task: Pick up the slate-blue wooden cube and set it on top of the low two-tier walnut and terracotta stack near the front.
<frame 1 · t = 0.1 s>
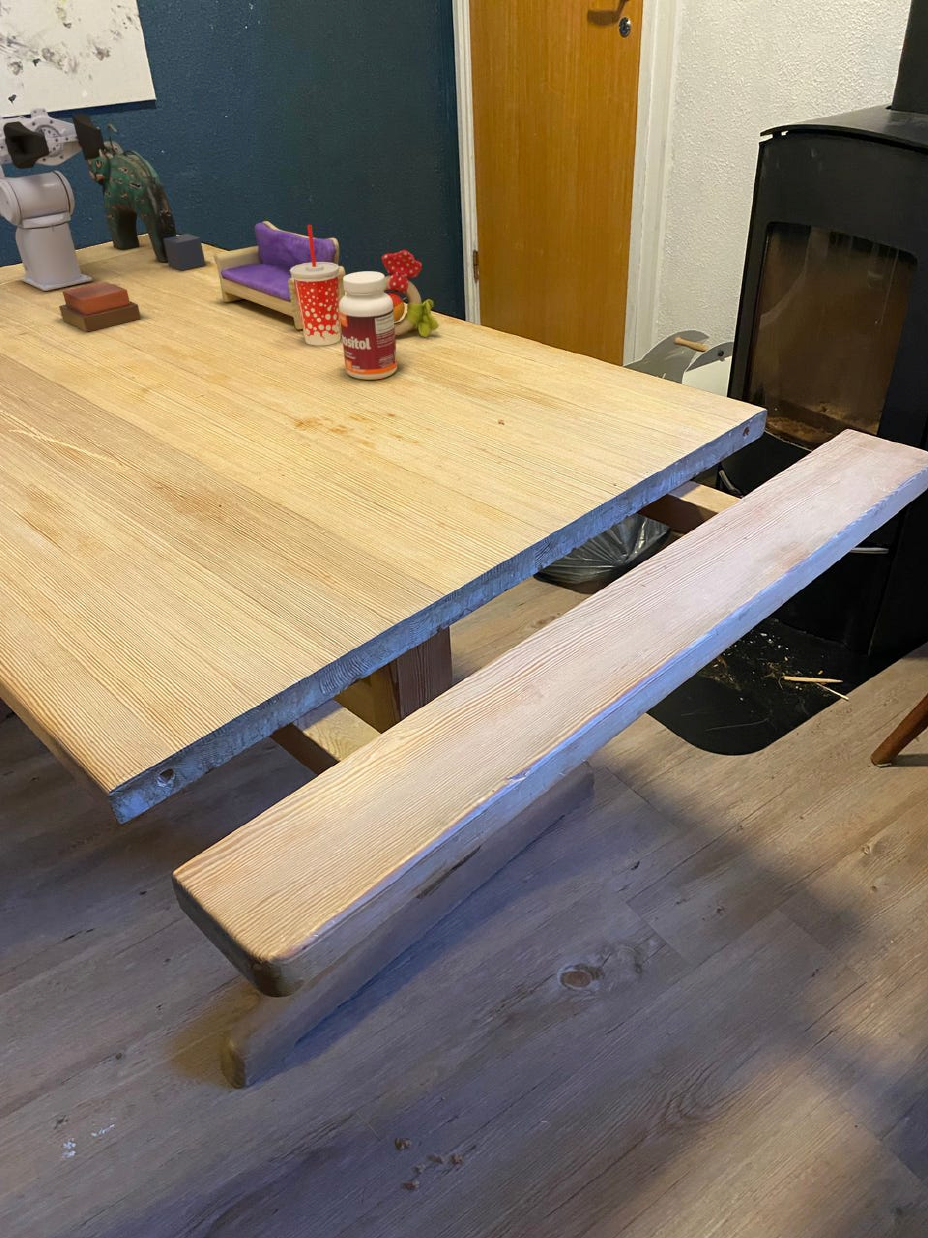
hand: (73, 141, 120), 22 cm above the table, tool horizontal, fingers open, 7 cm apart
stack: (101, 319, 128), on the table
toy sofa: (284, 311, 129), on the table
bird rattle: (404, 337, 118), on the table
beverage cup: (323, 341, 118), on the table
pill bottle: (372, 373, 108), on the table
green animal figurine: (147, 253, 159), on the table
cube: (187, 265, 151), on the table
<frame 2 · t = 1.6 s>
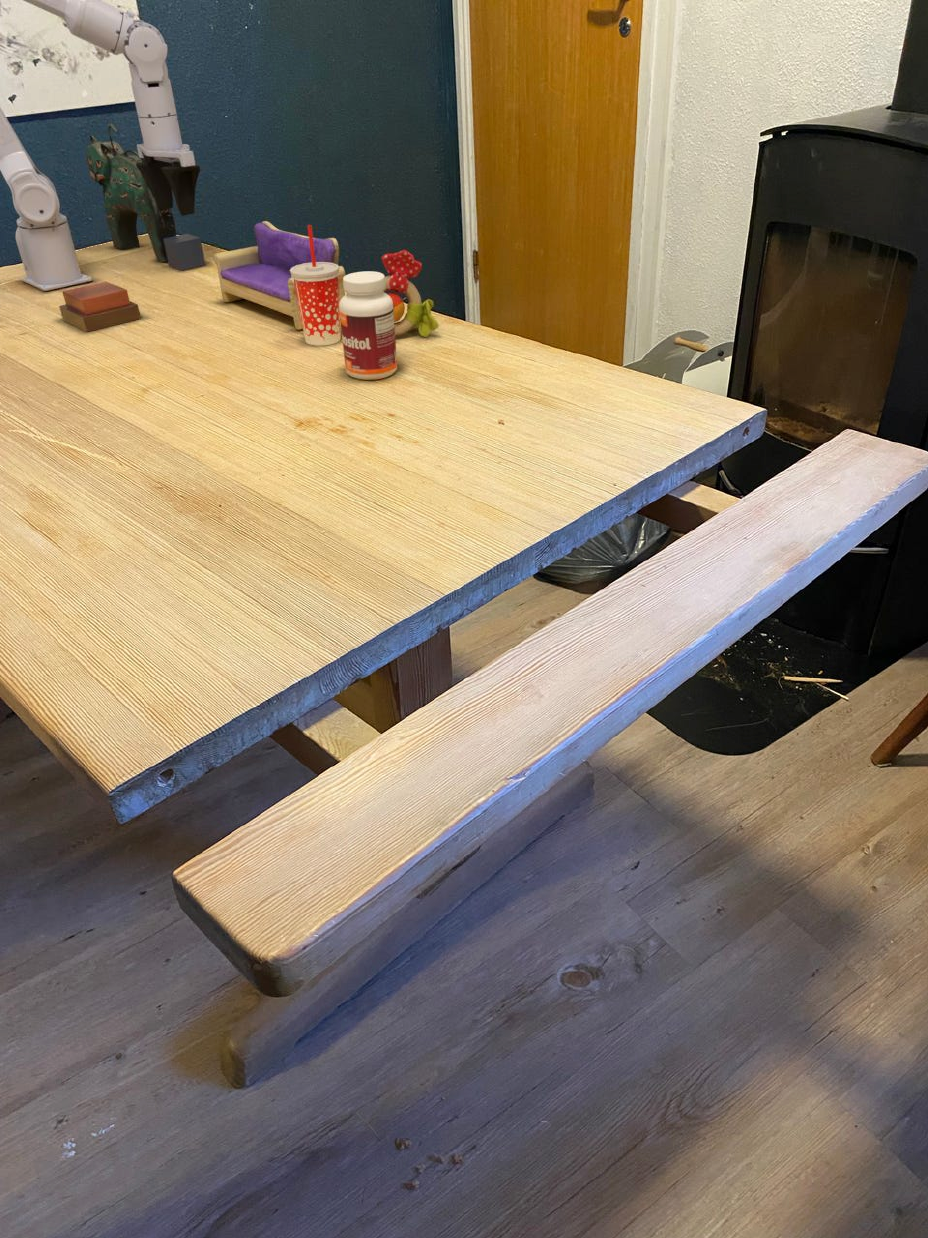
hand: (176, 211, 146), 8 cm above the table, tool pointing down, fingers open, 6 cm apart
green animal figurine: (147, 253, 159), on the table, touching gripper
everything else where it was.
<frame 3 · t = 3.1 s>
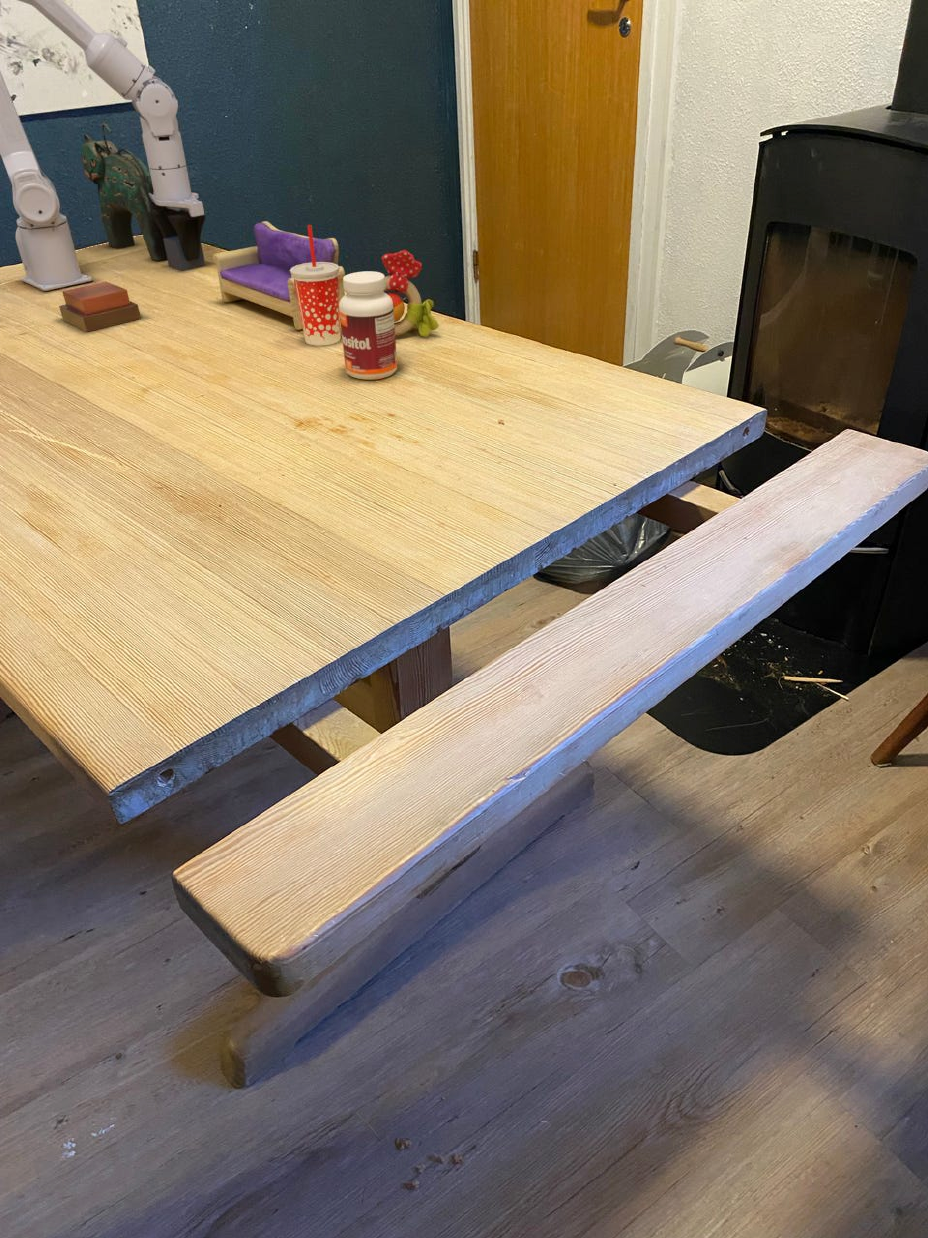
hand: (185, 256, 150), 1 cm above the table, tool pointing down, fingers closed on cube, 4 cm apart
green animal figurine: (141, 252, 160), on the table
cube: (187, 265, 151), on the table, touching gripper
everything else where it was.
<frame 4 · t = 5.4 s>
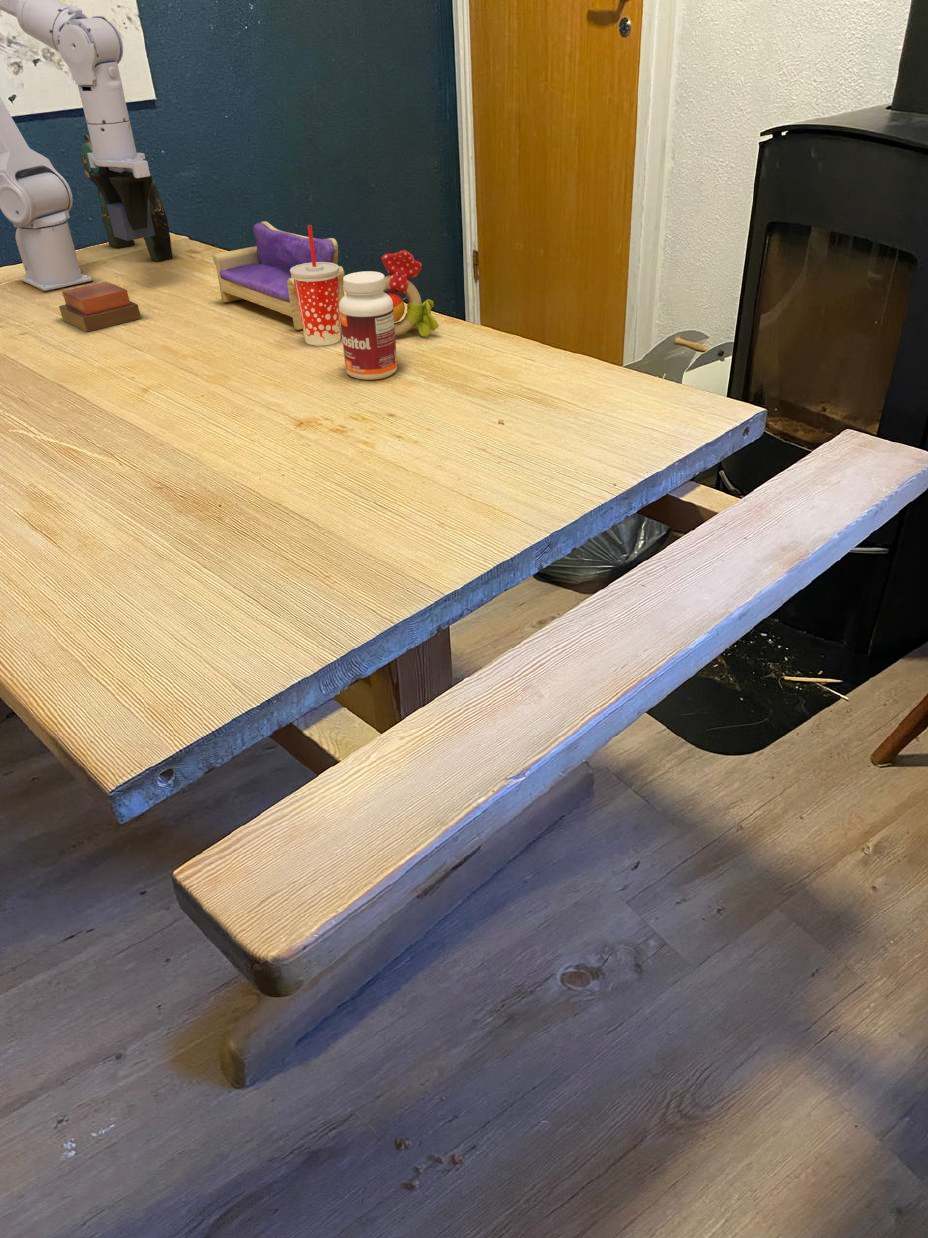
hand: (132, 225, 133), 9 cm above the table, tool pointing down, fingers closed on cube, 4 cm apart
cube: (134, 235, 134), point 8 cm above the table, touching gripper
everything else where it was.
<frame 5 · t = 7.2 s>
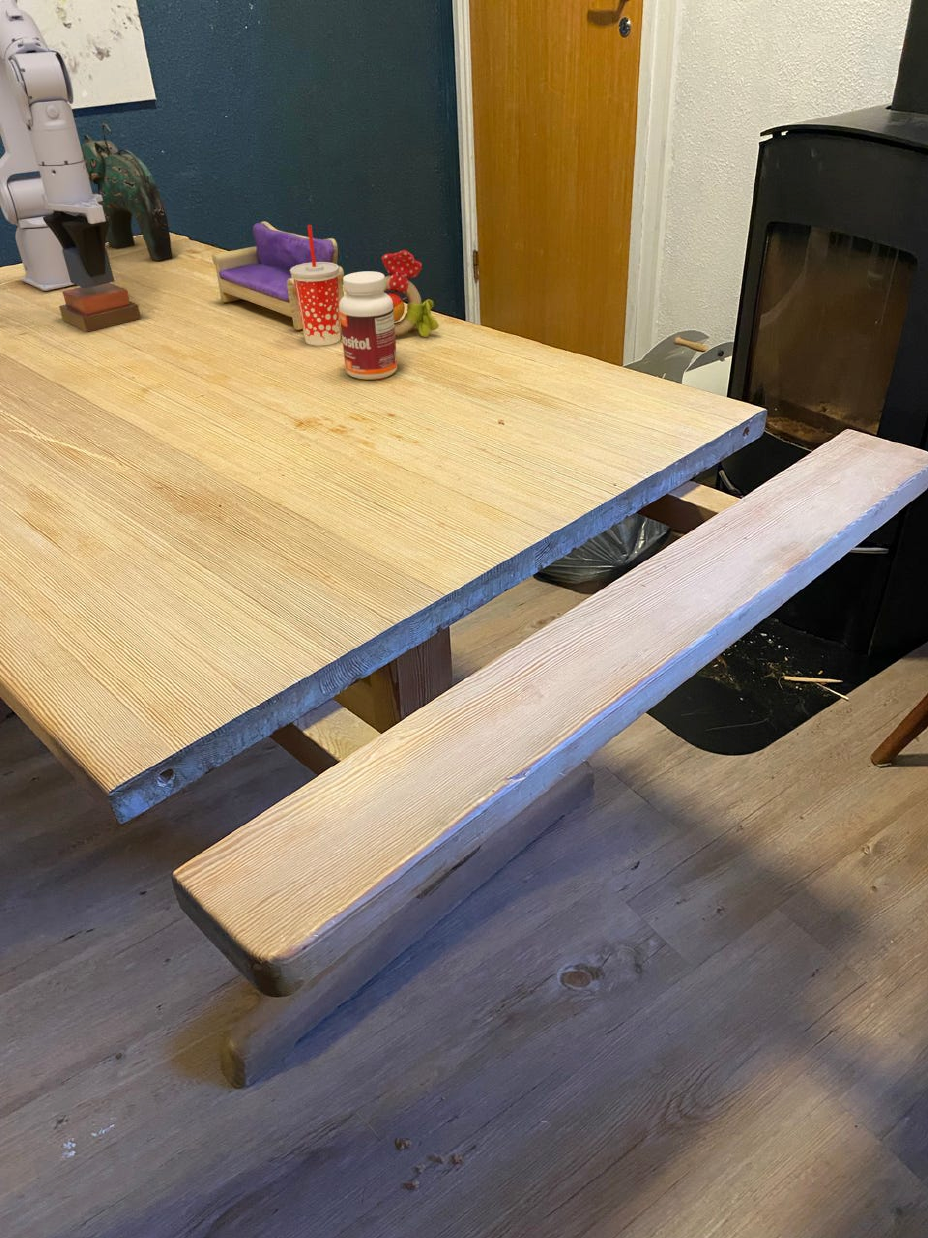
hand: (89, 271, 124), 6 cm above the table, tool pointing down, fingers closed on cube, 4 cm apart
cube: (92, 282, 125), point 5 cm above the table, touching gripper
everything else where it was.
when the fingers open (5 cm above the table, at t = 8.0 s): cube stays where it is, resting on stack.
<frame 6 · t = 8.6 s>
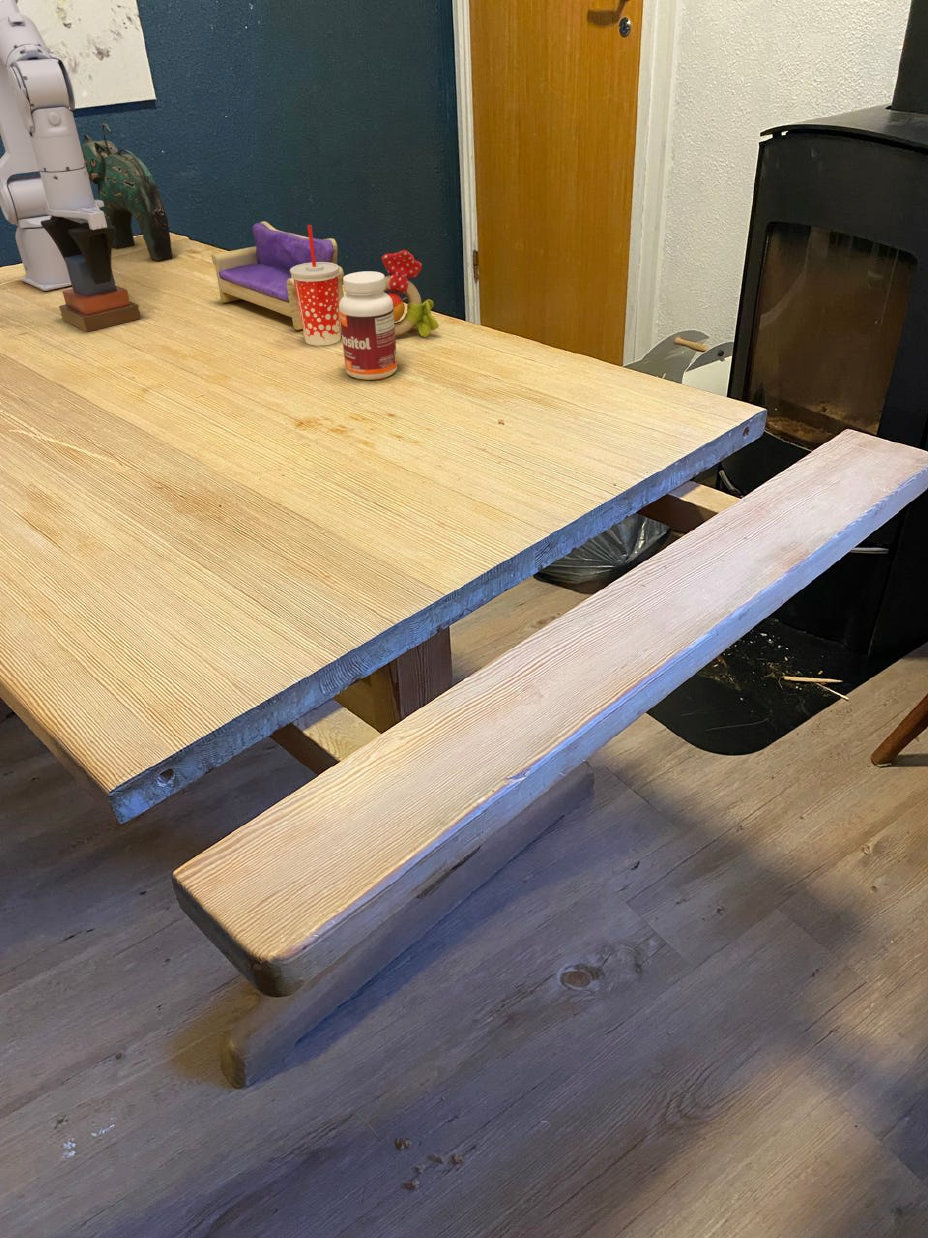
hand: (91, 277, 124), 6 cm above the table, tool pointing down, fingers open, 7 cm apart
stack: (101, 319, 128), on the table, touching cube
cube: (94, 290, 125), point 4 cm above the table, touching stack
everything else where it was.
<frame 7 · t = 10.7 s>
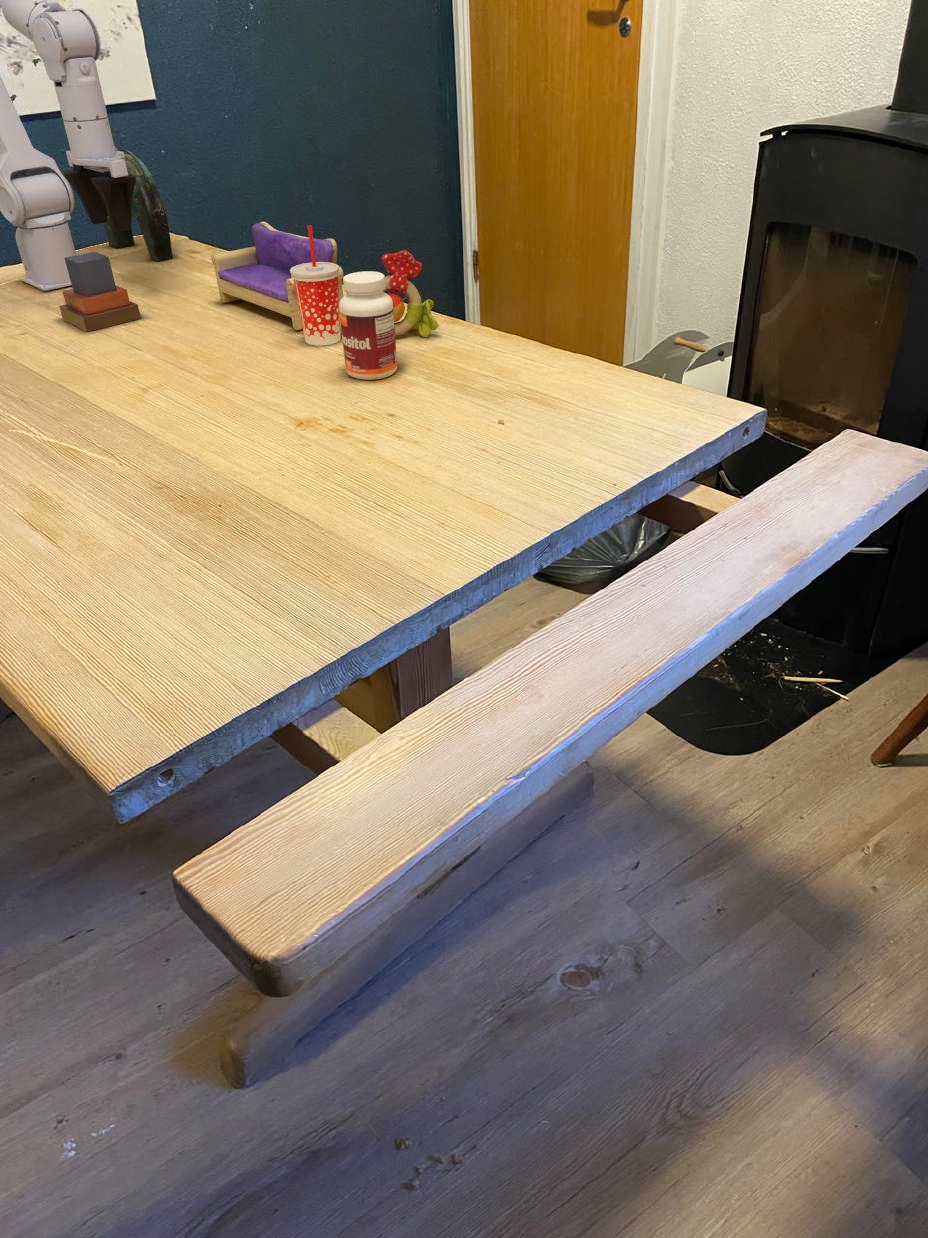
hand: (111, 226, 129), 10 cm above the table, tool pointing down, fingers open, 7 cm apart
nothing on the table moved.
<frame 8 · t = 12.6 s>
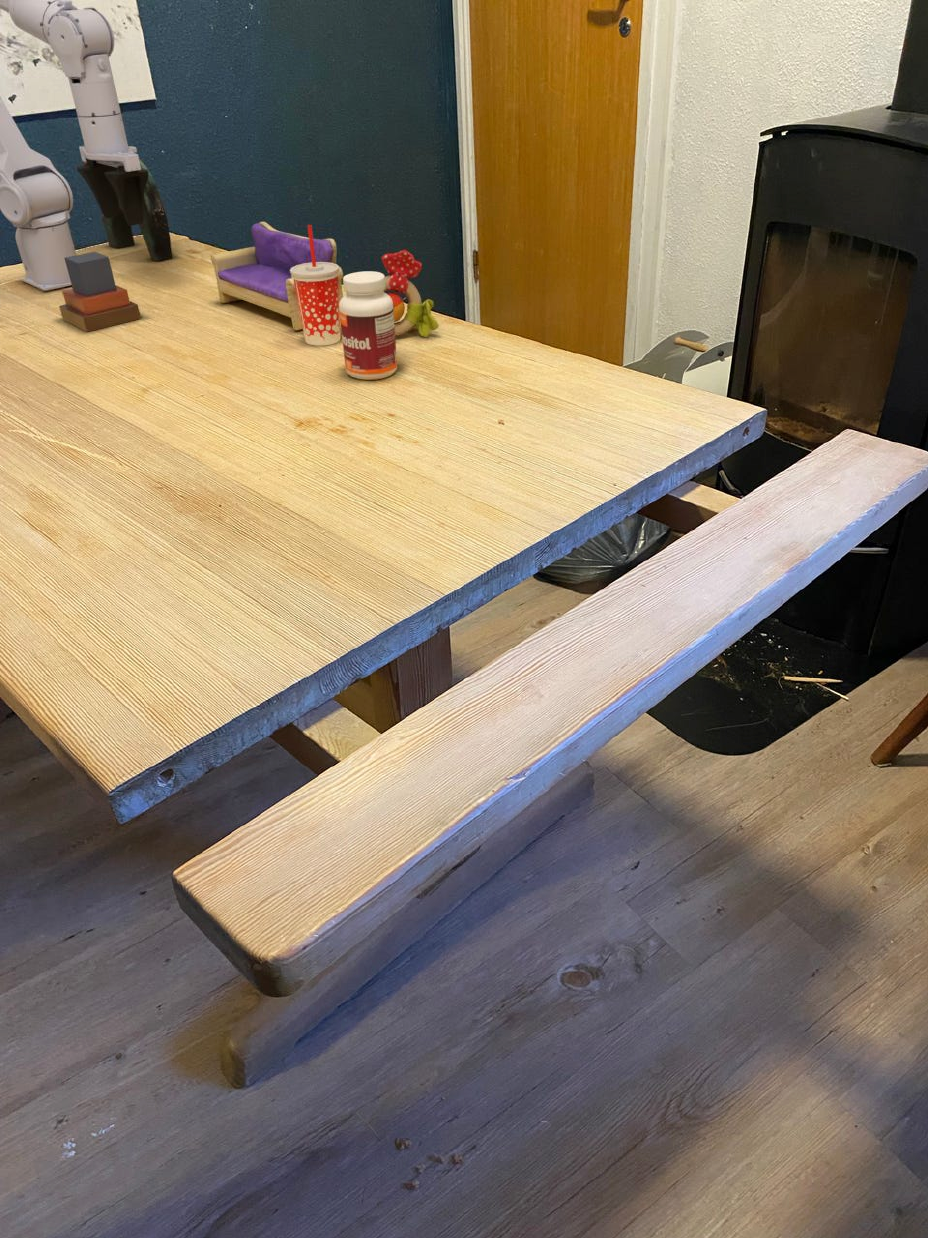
hand: (123, 220, 132), 10 cm above the table, tool pointing down, fingers open, 7 cm apart
nothing on the table moved.
at the end: cube 0.1 cm off-centre on the stack, point 4.0 cm above the stack's base; cube tilted 0°; stack moved 0.0 cm from its start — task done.
